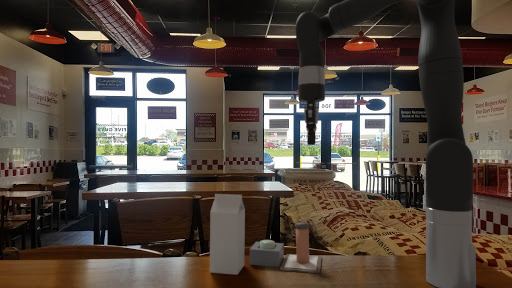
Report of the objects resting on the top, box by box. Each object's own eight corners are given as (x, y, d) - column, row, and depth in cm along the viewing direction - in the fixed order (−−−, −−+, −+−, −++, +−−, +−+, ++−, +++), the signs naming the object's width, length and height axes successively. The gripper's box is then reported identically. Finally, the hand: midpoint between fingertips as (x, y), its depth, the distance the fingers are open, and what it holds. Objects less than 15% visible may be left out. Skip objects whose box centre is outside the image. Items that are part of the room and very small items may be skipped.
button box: (283, 257, 98) (283, 243, 98) (279, 266, 90) (279, 251, 90) (256, 255, 99) (256, 241, 99) (249, 264, 91) (249, 249, 92)
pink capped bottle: (309, 259, 94) (308, 222, 94) (309, 263, 90) (308, 224, 91) (296, 259, 94) (295, 222, 95) (296, 263, 91) (295, 224, 91)
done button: (275, 258, 96) (275, 240, 96) (273, 263, 92) (273, 244, 92) (261, 257, 97) (261, 239, 97) (258, 261, 93) (258, 243, 93)
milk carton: (237, 275, 83) (238, 196, 84) (209, 273, 85) (210, 195, 85) (244, 265, 90) (245, 193, 91) (218, 263, 92) (219, 192, 92)
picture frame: (321, 257, 98) (321, 255, 98) (319, 273, 85) (319, 271, 85) (286, 255, 100) (286, 253, 100) (279, 270, 87) (279, 267, 87)
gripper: (324, 79, 91) (324, 144, 91) (325, 88, 104) (325, 145, 104) (296, 80, 93) (295, 144, 93) (300, 88, 106) (300, 145, 106)
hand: (311, 144), depth 98 cm, fingers closed
